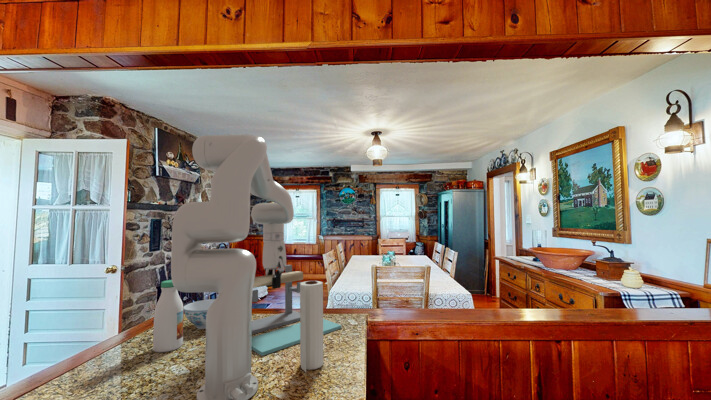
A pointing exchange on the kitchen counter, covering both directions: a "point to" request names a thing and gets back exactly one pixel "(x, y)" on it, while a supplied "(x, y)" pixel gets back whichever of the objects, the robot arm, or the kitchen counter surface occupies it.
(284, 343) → the mat
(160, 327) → the milk bottle
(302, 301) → the paper towel roll
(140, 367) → the kitchen counter surface
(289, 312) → the rack
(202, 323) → the chinaware
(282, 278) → the rail
